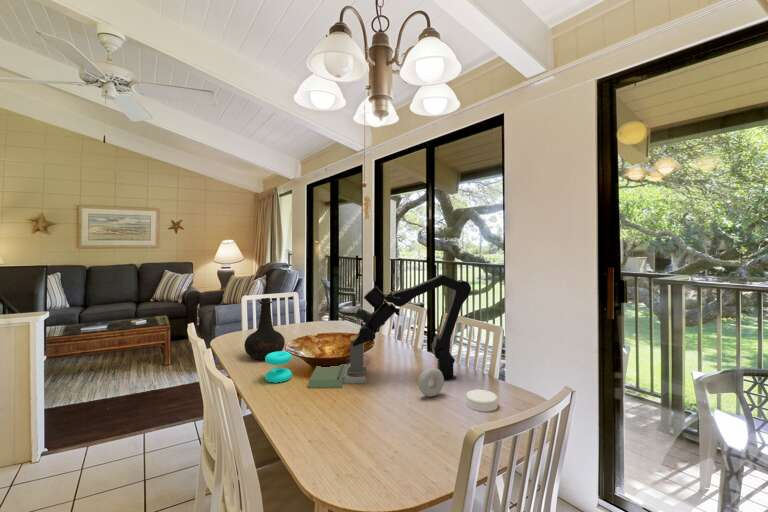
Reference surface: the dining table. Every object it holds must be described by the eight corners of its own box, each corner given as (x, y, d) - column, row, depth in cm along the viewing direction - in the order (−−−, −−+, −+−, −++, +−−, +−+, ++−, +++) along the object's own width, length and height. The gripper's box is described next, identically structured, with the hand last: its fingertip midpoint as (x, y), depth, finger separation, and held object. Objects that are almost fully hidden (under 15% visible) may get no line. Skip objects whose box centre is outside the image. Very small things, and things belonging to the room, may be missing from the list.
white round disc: (459, 402, 121) (460, 391, 121) (484, 397, 125) (484, 387, 125) (478, 414, 112) (478, 403, 112) (504, 409, 115) (504, 398, 115)
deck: (367, 369, 153) (367, 360, 153) (364, 387, 133) (364, 377, 133) (318, 369, 153) (318, 361, 153) (309, 387, 133) (309, 378, 133)
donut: (440, 391, 129) (440, 363, 129) (446, 395, 126) (446, 366, 126) (416, 397, 124) (416, 368, 124) (422, 401, 121) (422, 371, 121)
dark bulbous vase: (236, 358, 168) (236, 298, 167) (268, 349, 183) (268, 294, 182) (260, 365, 158) (260, 302, 157) (292, 355, 173) (292, 297, 172)
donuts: (292, 356, 138) (264, 359, 135) (292, 382, 139) (265, 385, 136) (290, 349, 148) (264, 351, 145) (290, 373, 148) (265, 376, 145)
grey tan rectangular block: (363, 367, 146) (364, 335, 145) (363, 372, 140) (363, 338, 140) (350, 367, 146) (351, 335, 145) (349, 371, 140) (350, 338, 140)
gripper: (368, 298, 152) (341, 324, 152) (366, 305, 133) (336, 335, 133) (386, 316, 152) (360, 342, 152) (387, 326, 133) (357, 356, 133)
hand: (353, 343), depth 143 cm, fingers closed on grey tan rectangular block, 5 cm apart
